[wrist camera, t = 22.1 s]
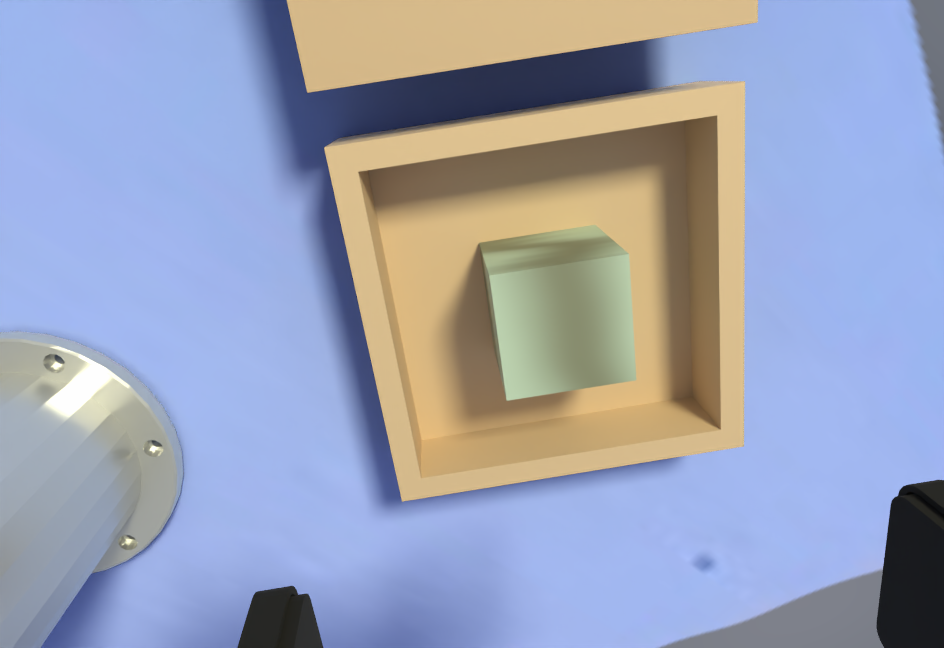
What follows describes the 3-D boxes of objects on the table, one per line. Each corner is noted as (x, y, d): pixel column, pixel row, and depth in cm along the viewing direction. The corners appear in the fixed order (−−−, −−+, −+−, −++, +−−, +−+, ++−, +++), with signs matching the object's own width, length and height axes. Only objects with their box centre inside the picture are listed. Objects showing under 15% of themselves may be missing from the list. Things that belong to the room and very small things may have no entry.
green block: (494, 349, 30) (506, 400, 25) (479, 242, 28) (489, 275, 23) (603, 332, 30) (636, 380, 25) (595, 224, 28) (628, 253, 23)
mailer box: (405, 452, 32) (402, 501, 28) (338, 137, 27) (324, 147, 23) (707, 403, 32) (743, 446, 28) (700, 81, 27) (744, 81, 23)
